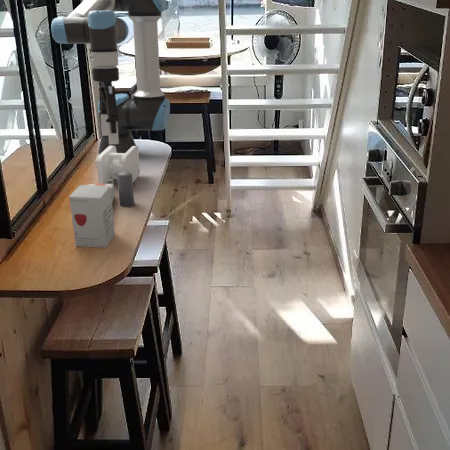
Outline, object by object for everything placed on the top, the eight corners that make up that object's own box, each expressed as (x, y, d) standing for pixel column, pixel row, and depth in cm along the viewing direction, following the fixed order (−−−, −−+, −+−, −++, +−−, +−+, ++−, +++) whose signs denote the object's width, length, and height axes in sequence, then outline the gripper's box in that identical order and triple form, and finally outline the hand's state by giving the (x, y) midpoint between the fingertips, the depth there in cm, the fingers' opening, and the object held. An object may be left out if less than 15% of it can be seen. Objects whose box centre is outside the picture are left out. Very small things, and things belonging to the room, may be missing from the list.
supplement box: (74, 246, 167) (67, 196, 160) (85, 232, 175) (79, 184, 168) (106, 248, 165) (100, 197, 159) (116, 234, 173) (111, 185, 167)
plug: (131, 200, 196) (128, 169, 191) (136, 205, 192) (134, 173, 188) (117, 203, 194) (114, 172, 189) (123, 208, 190) (119, 176, 186)
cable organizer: (127, 191, 203) (124, 158, 198) (97, 189, 205) (94, 157, 200) (141, 175, 216) (138, 144, 211) (112, 174, 218) (109, 143, 213)
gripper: (86, 64, 186) (92, 132, 193) (98, 71, 164) (103, 148, 171) (111, 63, 188) (115, 131, 195) (125, 70, 166) (130, 146, 173)
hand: (110, 139), depth 183 cm, fingers open, 13 cm apart
